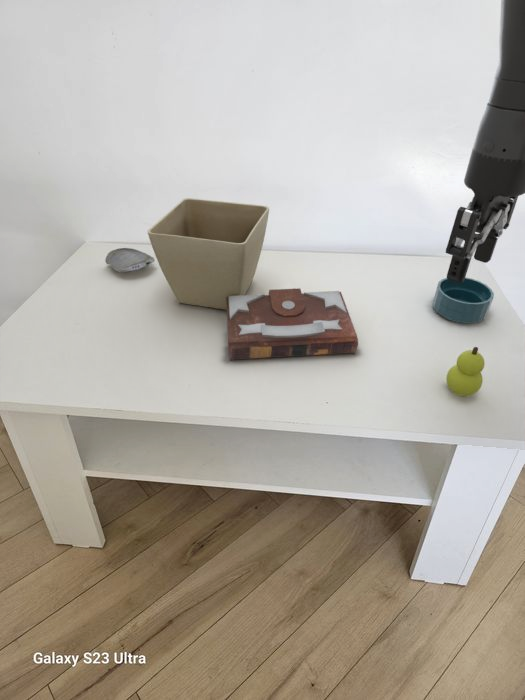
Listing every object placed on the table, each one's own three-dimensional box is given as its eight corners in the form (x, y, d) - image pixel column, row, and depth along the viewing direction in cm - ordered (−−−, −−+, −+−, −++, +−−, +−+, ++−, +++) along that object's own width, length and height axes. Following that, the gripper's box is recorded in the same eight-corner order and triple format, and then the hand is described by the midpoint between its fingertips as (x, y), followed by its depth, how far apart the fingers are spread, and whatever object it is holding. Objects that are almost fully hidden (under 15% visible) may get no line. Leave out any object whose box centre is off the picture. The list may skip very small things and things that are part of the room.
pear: (482, 390, 76) (500, 346, 71) (468, 408, 73) (487, 363, 67) (451, 376, 79) (466, 332, 73) (437, 392, 76) (451, 347, 70)
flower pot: (191, 266, 109) (184, 196, 99) (269, 276, 106) (270, 205, 95) (157, 309, 95) (144, 232, 84) (246, 323, 91) (244, 244, 81)
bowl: (493, 309, 95) (501, 288, 92) (473, 332, 89) (481, 310, 86) (445, 291, 101) (451, 271, 98) (422, 311, 95) (428, 290, 92)
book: (229, 364, 82) (228, 344, 79) (226, 310, 94) (225, 290, 90) (355, 357, 84) (359, 337, 81) (337, 305, 95) (340, 285, 92)
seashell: (97, 276, 105) (93, 256, 102) (114, 259, 112) (110, 240, 109) (146, 281, 104) (143, 261, 100) (160, 264, 110) (157, 245, 107)
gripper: (516, 167, 49) (472, 299, 59) (560, 143, 57) (515, 262, 67) (449, 153, 53) (418, 278, 63) (499, 132, 61) (465, 246, 71)
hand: (468, 270), depth 65 cm, fingers open, 8 cm apart
